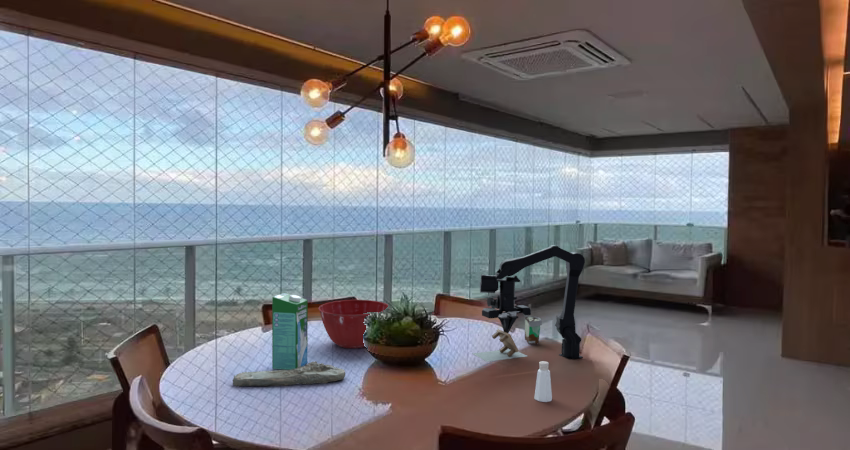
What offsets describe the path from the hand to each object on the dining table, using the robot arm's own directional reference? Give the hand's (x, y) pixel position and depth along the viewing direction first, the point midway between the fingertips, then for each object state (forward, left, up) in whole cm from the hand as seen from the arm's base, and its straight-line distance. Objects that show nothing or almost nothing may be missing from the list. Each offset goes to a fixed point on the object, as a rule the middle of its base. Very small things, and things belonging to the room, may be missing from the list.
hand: (506, 334), depth 202 cm
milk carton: (+18, +77, -8) cm, 80 cm away
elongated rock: (+2, +80, -9) cm, 81 cm away
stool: (0, -1, -7) cm, 7 cm away
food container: (+12, -22, -8) cm, 26 cm away
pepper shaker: (-42, +14, -8) cm, 45 cm away
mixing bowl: (+37, +48, -8) cm, 61 cm away
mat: (0, +2, -8) cm, 9 cm away
